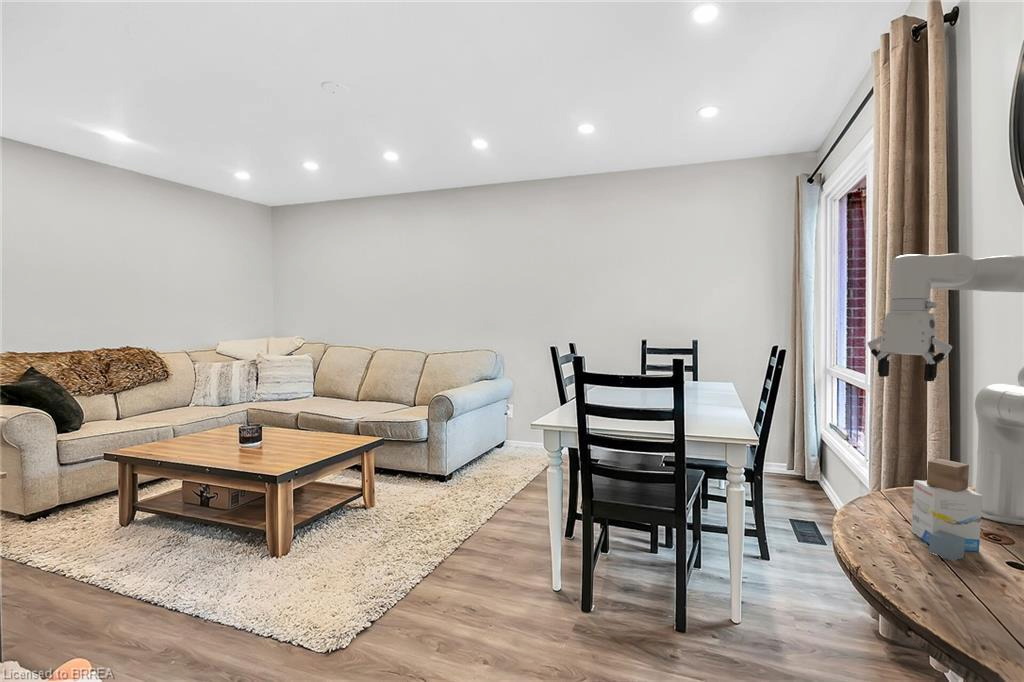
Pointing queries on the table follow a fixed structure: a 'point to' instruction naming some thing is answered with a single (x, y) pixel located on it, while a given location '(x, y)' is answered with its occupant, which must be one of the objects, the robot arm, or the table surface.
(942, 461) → the walnut block
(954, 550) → the slate block
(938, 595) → the table surface
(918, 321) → the robot arm
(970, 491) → the ink box
